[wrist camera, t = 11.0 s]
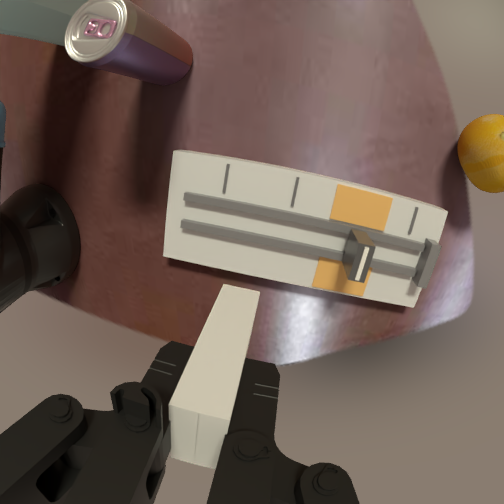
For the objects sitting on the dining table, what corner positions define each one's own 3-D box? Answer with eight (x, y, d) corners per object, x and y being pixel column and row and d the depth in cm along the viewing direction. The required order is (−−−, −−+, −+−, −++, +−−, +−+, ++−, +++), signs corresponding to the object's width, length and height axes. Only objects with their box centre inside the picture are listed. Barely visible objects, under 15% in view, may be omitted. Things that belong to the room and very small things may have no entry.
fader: (340, 257, 33) (348, 280, 28) (349, 225, 32) (359, 243, 26) (354, 260, 33) (364, 283, 28) (363, 228, 31) (376, 247, 26)
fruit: (476, 100, 26) (515, 96, 19) (511, 152, 27) (551, 161, 20) (434, 147, 29) (469, 153, 22) (472, 199, 30) (508, 217, 23)
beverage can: (182, 92, 31) (108, 71, 17) (137, 79, 31) (52, 60, 17) (203, 44, 28) (143, -6, 15) (157, 33, 28) (81, -10, 14)
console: (169, 250, 38) (156, 262, 34) (180, 149, 33) (166, 151, 29) (408, 299, 36) (418, 316, 32) (440, 207, 31) (456, 216, 28)
